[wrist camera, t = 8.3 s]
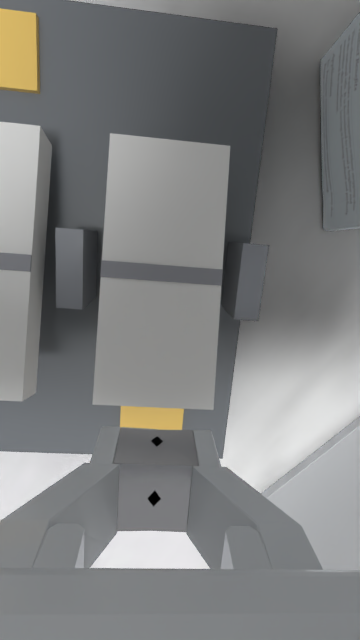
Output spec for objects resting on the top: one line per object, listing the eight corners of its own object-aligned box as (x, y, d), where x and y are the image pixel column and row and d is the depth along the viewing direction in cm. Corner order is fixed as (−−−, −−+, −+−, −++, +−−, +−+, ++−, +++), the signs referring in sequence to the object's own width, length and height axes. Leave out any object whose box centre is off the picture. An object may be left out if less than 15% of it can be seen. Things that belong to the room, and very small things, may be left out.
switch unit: (-259, -12, 14) (-474, -140, 9) (262, 54, 15) (306, -25, 11) (-175, 422, 18) (-287, 484, 14) (216, 437, 20) (233, 497, 15)
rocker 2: (114, 152, 14) (109, 131, 12) (222, 163, 14) (230, 145, 12) (98, 396, 14) (92, 405, 12) (207, 400, 14) (213, 410, 12)
